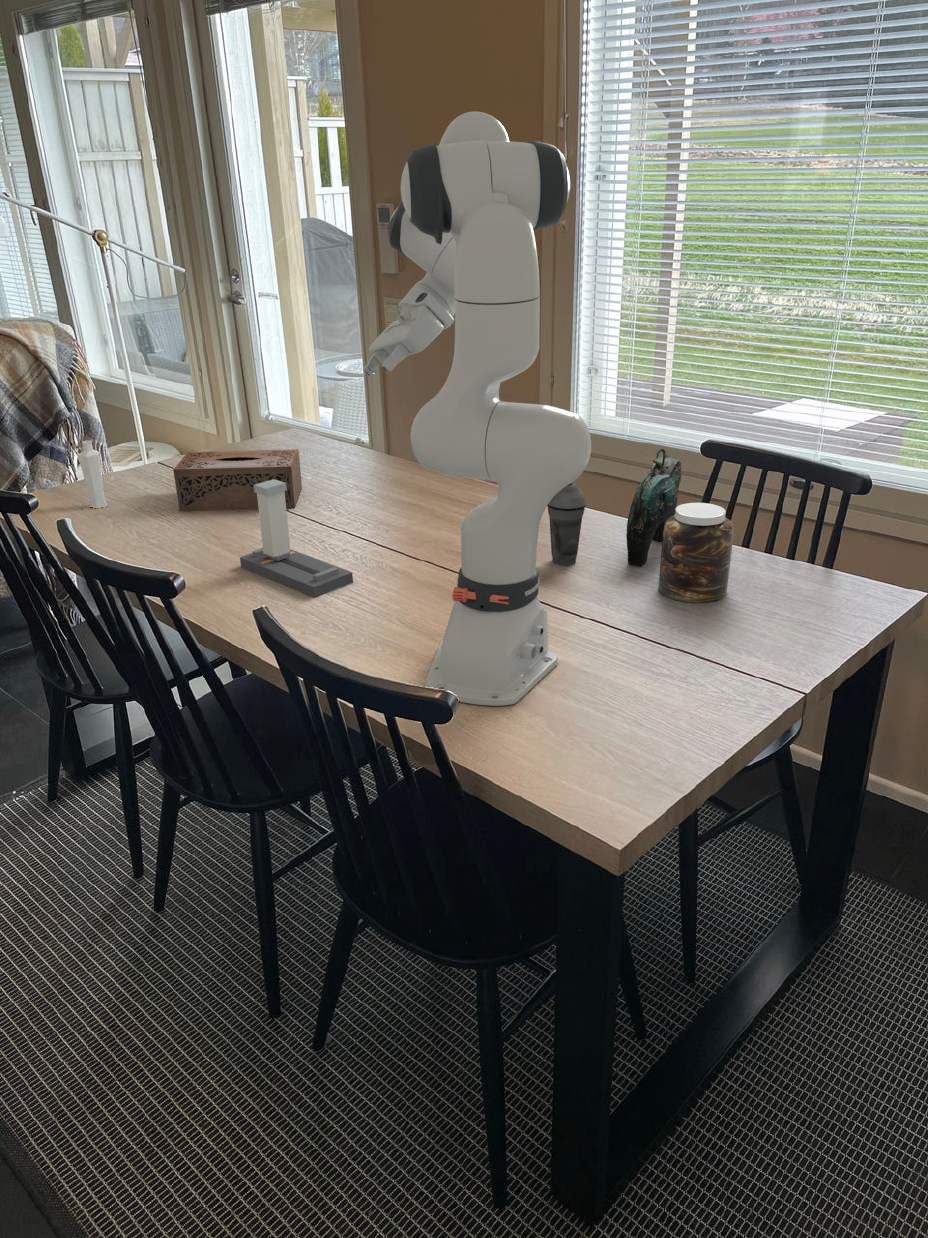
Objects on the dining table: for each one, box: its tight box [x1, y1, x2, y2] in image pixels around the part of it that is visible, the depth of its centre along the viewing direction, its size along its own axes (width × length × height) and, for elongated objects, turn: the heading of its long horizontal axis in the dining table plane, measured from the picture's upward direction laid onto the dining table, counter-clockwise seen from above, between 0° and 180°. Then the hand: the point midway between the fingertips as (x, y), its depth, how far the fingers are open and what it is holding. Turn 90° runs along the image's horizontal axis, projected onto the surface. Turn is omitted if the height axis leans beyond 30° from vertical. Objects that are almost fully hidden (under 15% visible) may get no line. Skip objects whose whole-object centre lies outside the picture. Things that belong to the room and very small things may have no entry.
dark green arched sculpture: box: [626, 448, 682, 568], centre depth 179 cm, size 20×6×20 cm, turn 150°
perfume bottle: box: [77, 440, 108, 509], centre depth 209 cm, size 5×4×15 cm
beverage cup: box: [547, 482, 586, 567], centre depth 174 cm, size 7×7×20 cm
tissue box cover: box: [173, 448, 303, 512], centre depth 213 cm, size 26×14×10 cm, turn 93°
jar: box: [658, 502, 735, 604], centre depth 162 cm, size 12×12×15 cm
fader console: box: [239, 547, 354, 598], centre depth 173 cm, size 22×9×3 cm, turn 48°
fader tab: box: [254, 479, 291, 561], centre depth 173 cm, size 4×5×14 cm
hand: (375, 371), depth 165 cm, fingers open, 8 cm apart
